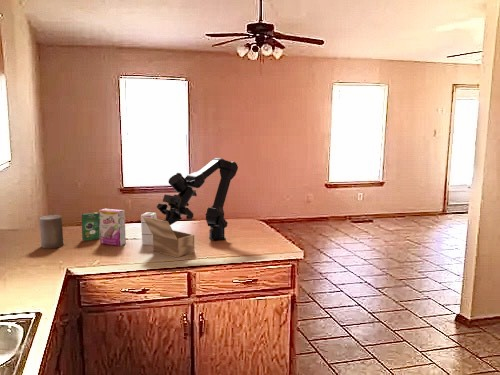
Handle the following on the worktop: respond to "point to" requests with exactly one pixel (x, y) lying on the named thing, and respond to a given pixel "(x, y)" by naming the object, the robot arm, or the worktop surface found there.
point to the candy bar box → (112, 227)
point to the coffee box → (90, 226)
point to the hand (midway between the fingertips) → (165, 226)
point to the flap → (160, 227)
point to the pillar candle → (51, 231)
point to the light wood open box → (174, 244)
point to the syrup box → (147, 228)
